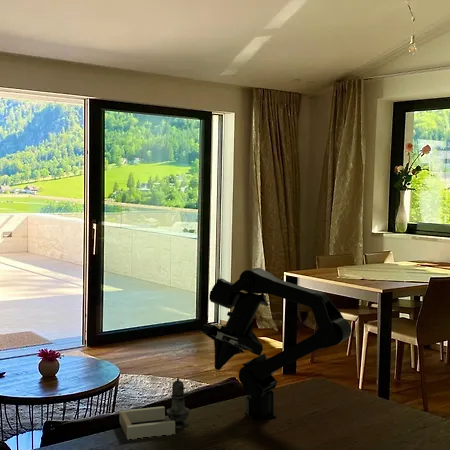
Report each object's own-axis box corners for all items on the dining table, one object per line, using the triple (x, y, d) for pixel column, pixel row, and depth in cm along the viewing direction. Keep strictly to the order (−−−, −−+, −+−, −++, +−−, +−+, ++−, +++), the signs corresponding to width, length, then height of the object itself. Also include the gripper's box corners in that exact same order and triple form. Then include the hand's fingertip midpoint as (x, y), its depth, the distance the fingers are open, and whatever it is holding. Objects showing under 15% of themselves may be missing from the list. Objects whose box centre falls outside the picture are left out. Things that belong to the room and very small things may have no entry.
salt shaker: (186, 429, 161) (186, 381, 161) (163, 428, 162) (163, 380, 162) (192, 421, 167) (192, 374, 166) (170, 420, 168) (169, 373, 168)
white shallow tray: (163, 417, 170) (163, 406, 170) (175, 434, 158) (175, 422, 158) (119, 422, 166) (119, 410, 166) (127, 440, 155) (127, 427, 154)
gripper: (286, 334, 169) (260, 390, 165) (237, 320, 183) (213, 372, 179) (260, 316, 162) (233, 374, 158) (212, 302, 176) (186, 356, 172)
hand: (216, 369), depth 167 cm, fingers closed
